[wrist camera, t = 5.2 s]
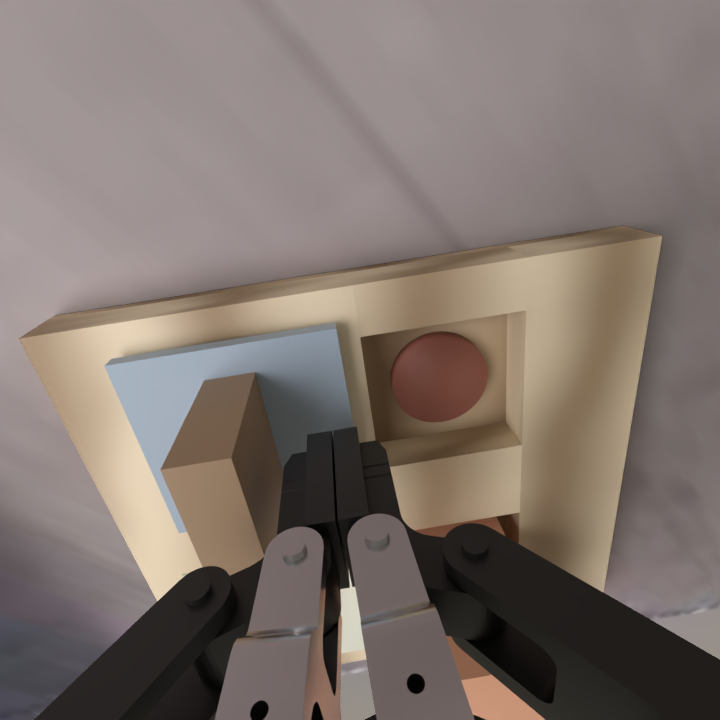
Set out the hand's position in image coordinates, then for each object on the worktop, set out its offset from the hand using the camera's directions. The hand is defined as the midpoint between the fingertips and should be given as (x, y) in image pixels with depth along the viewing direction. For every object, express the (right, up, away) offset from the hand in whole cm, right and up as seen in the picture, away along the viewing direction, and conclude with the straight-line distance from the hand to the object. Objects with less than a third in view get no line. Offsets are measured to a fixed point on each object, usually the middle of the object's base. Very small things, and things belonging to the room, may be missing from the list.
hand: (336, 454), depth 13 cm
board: (+1, -3, +6) cm, 7 cm away
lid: (-3, 0, +2) cm, 4 cm away
